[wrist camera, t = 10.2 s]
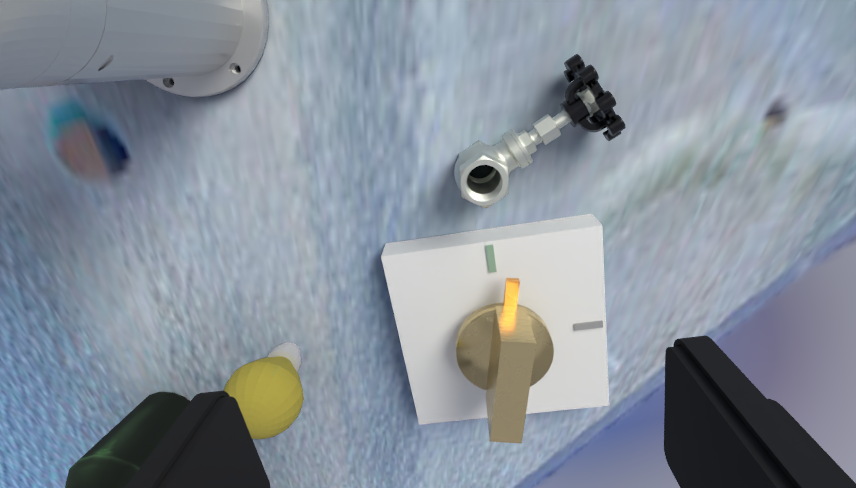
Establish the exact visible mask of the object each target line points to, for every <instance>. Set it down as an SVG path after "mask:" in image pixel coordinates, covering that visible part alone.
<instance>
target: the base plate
mask: <svg viewBox="0 0 856 488" xmlns="http://www.w3.org/2000/svg"><path fill="white" fill-rule="evenodd" d="M381 259H382V263H383V268H384V272H385V277H386V281H387V285H388V290H389V294H390V298H391V303H392V307H393V312H394V316H395V320H396V325H397V329H398V334H399V338H400V342H401V347H402V351H403V355H404V360H405V364H406V369H407V373H408V377H409V382H410V386H411V391H412V395H413V399H414V404H415V408H416V412H417V417H418V421H419V425H421V424H431V423H441V422H450V421H460V420H470V419H480V418H488V417H487V406H486V390H484V389H481V388H479V387H477V386H476V385H474V384H472V383H471V382H470V381H469V380H468V379H467V378H466V377H465V376H464V375H463V373H462V372H461V370H460V368H459V366H458V363H457V357H456V339H457V334H458V331H459V329H460V327H461V325H462V323H463V322H464V321H465V319H466V318H467V317H468V316H469V315H471V314H472V313H473V312H475V311H476V310H478V309H480V308H482V307H484V306H487V305H490V304H494V303H503V300H504V291H505V282H506V278H519V280H520V285H519V293H518V301H517V304H519V305H522V306H525V307H527V308H529V309H531V310H532V311H534V312H535V313H537V314H538V315H539V316H540V317H541V318H542V320H543V321H544V322H545V324H546V326H547V328H548V330H549V333H550V336H551V339H552V342H553V346H554V356H553V361H552V364H551V366H550V368H549V370H548V372H547V373H546V374H545V375H544V377H543V378H542V379H541V380H540V381H538V382H537V383H536V384H534V385H532V386H531V387H530V389H529V396H528V403H527V410H526V414H530V413H540V412H550V411H560V410H570V409H580V408H590V407H599V406H609V390H608V364H607V338H606V311H605V285H604V259H603V232H602V225H601V223H600V222H599V221H598V220H597V219H596V218H595V217H594V216H593V215H592V214H586V215H579V216H572V217H565V218H558V219H551V220H544V221H537V222H530V223H524V224H517V225H510V226H503V227H496V228H489V229H482V230H475V231H468V232H461V233H454V234H447V235H441V236H434V237H427V238H420V239H413V240H406V241H399V242H392V243H386V244H385V247H384V250H383V253H382V255H381Z"/></svg>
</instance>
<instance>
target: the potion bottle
mask: <svg viewBox="0 0 856 488" xmlns="http://www.w3.org/2000/svg"><path fill="white" fill-rule="evenodd" d="M189 403H190V401H189V400H187V399H186V398H185V397H183V396H180V395H178V394H175V393H168V392H158V393H155V394H152V395H149V396H148V397H147V398H146V399H145V400H144V401H142V402H141V403H140V404H139V405H138V406H137V407H136V408H135V409H134V410H133V411H132V412H130V413H129V414H128V415H127V416H126V417H125V418H124V419H123V420H122V421H121V422H120V423H119V424H117V425H116V426H115V427H114V428H113V429H112V430H111V431H110V432H109V433H108V434H107V435H105V436H104V437H103V438H102V439H101V440H100V441H99V442H98V443H97V444H96V445H95V446H94V447H92V448H91V449H90V450H89V451H88V452H87V453H86V454H85V455H84V456H83V457H82V458H81V459H79V460H78V461H77V462H76V463H75V464H74V465H73V466H72V467H71V468H70V469H69V473H68V477H67V481H66V486H65V488H125V487H126V486H127V484H128V483H129V482H130V480H131V479H132V478H133V477H134V475H135V474H136V473H137V471H138V470H139V469H140V467H141V466H142V465H143V463H144V462H145V461H146V459H147V458H148V457H149V456H150V454H151V453H152V452H153V450H154V449H155V448H156V446H157V445H158V444H159V442H160V441H161V440H162V438H163V437H164V436H165V435H166V433H167V432H168V431H169V429H170V428H171V427H172V425H173V424H174V423H175V421H176V420H177V419H178V417H179V416H180V415H181V414H182V412H183V411H184V410H185V408H186V407H187V406H188V404H189Z"/></svg>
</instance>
